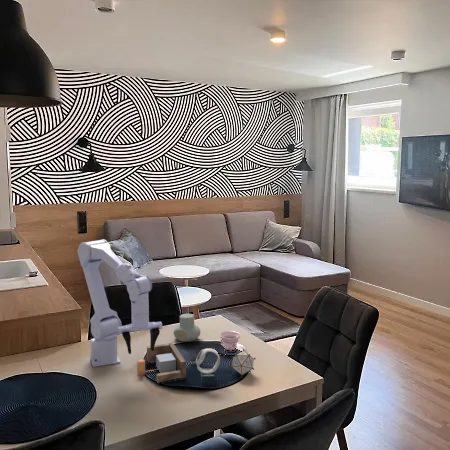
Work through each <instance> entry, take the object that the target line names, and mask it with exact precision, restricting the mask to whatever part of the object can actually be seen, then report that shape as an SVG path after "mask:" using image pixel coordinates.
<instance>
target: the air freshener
mask: <svg viewBox="0 0 450 450" xmlns="http://www.w3.org/2000/svg"><path fill="white" fill-rule="evenodd" d="M200 335H201V328H200V327H199V326H198V325H196V324H195V315H194V314H192V313H183V314H181V315H179V324H178V325H177V326H176V327H174V329H173V336H174V337H175V339H177V340H178V341H180V342H183V343H189V342H192V341H196V340H197V339H198V338H199V337H200Z"/></svg>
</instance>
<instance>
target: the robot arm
mask: <svg viewBox="0 0 450 450" xmlns="http://www.w3.org/2000/svg"><path fill="white" fill-rule="evenodd" d="M111 247H112V246H111V244H110V243H109V242H108V241H107V240H106V239H103V238H102V239H100V240H99V239H98V240H92V241H86V242H85V241H84V242H83V241H82V242H81V243H79V246H78V249H77V251H76V252H77V255H78V260H79V262H80V267H82V271H83V274H84V278H85V280H86V284H87V288H88V292H89V296H90V299H91V300H90V301H91V303H92V306H93V310H94V314H93V316H92V317H91V318H90V320H89V322H90V333H91V335H92V337H93V338H90V355H89V357H90V360H91V365H92V368H93V367H100V366H107V365H115V364H120V363H121V360H120V358H119V355H118V337H119V335H122V337H123V340H124V341H125V344H126V348H127V352H128V354H129V355H131V354H132V346H131V344H132V343H131V341H132V337H131V333H134V332H144V331H145V332H146V331H148V330H149V335H150V336H149V337H150V344H149V346H150V348H151V350H152V351H154V346H155V345H156V342H157V339H158V337H159V335H160V333H161V330H162V329H163V323H162V321H150V317H149V316H150V311H149V309H150V308H149V307H150V305H149V303H150V302H149V300H150V299H149V292H151V291H152V289H153V282H152V280H151V279H150V277H149V276H148V275H146V274H145V275H144V274H141V273H139V272H138V271H137V270H136V269H135V268H134V267H133V266H132V265H131V264H130V263H128V262H125V263H123V262H122V260H121V259H120V258H119V257H118V256H117V254H115V252H114V251H113V250H112V248H111ZM103 262H104V263H106V264H107V265H108V266H109V267H111V268H112V269H113V270H115V275H116V276H115V277H117V278H118V279H119V280H120V281H121V282H122V283H123V284H124V285H126V291H127V293H128V295H129V300H130V303H131V305H130V307H131V308H130V309H131V323H129V324H126V325H122V320H121V319H120V318H119V316H118V312H117V311H116V310H114V309H111V308H110V304H109V301H108V298H107V294H106V291H105V287H104V283H103V280H102V276H101V272H100V269H99V268H100V266H101V264H102V263H103Z"/></svg>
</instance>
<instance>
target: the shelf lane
mask: <svg viewBox="0 0 450 450" xmlns="http://www.w3.org/2000/svg"><path fill="white" fill-rule="evenodd" d="M168 353H172V354H173V356H174V357H175V359H176V370H177V371H171V372H165V373H159V372H158V373H156V383H157V384H160V383H159V382H162V383H164V382H163V381H167V380H171V379H176V378H185V377H186V378H187V366H186V365H187V362H186V360H185V358H184V357H183V355H182V354H181V352H180V351H179V350H178V347H176V345H175V344H174V343H173V342H168V343H161V344H155V346H154V351H152V350H151V348H150V345H147V346H146V362H147V361H148V362H151V361H156V355H161V354H168Z"/></svg>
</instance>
